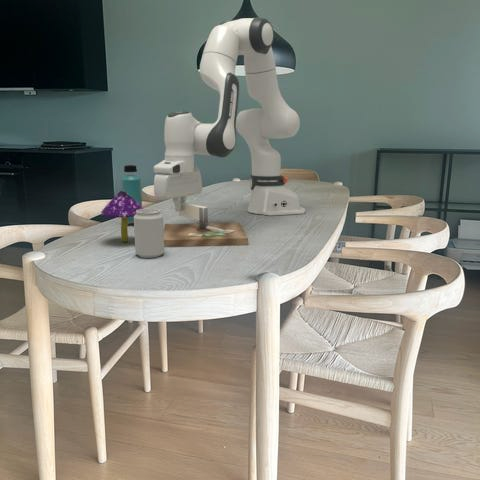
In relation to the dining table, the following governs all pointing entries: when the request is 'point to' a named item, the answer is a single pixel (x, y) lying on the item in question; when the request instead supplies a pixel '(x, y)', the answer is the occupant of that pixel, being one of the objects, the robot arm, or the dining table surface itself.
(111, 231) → the dining table surface
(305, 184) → the dining table surface
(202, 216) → the cream lever
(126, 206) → the decorative mushroom
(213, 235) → the board
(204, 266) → the dining table surface
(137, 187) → the beverage bottle
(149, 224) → the can
